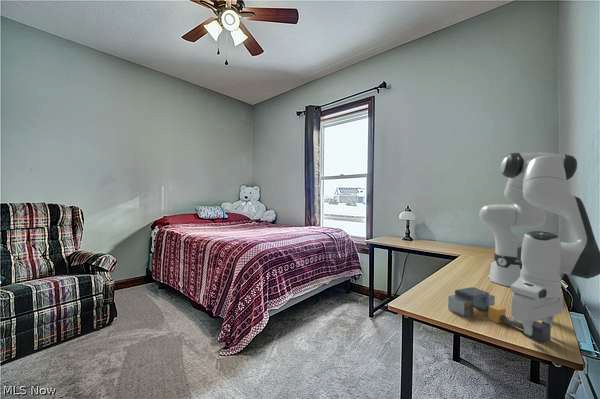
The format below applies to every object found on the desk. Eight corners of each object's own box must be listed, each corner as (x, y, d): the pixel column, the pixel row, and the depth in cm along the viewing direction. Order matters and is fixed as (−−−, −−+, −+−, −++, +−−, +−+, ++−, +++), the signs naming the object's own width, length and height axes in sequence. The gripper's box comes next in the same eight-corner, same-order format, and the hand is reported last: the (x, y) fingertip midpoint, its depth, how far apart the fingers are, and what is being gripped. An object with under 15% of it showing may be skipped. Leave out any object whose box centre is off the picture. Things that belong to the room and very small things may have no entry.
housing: (477, 302, 98) (478, 285, 98) (494, 309, 92) (494, 291, 92) (448, 309, 92) (448, 291, 92) (463, 316, 86) (464, 297, 86)
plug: (495, 317, 86) (496, 304, 86) (550, 340, 73) (550, 325, 73) (487, 319, 85) (488, 306, 85) (541, 343, 71) (542, 328, 71)
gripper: (545, 278, 80) (543, 320, 81) (507, 286, 73) (505, 332, 73) (571, 285, 75) (570, 329, 75) (533, 294, 67) (531, 344, 67)
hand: (537, 331), depth 74 cm, fingers open, 8 cm apart
